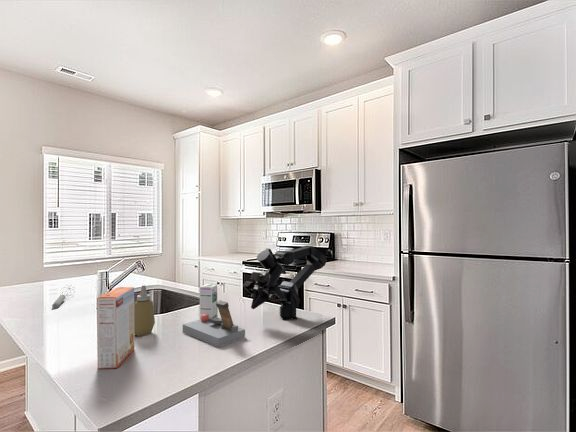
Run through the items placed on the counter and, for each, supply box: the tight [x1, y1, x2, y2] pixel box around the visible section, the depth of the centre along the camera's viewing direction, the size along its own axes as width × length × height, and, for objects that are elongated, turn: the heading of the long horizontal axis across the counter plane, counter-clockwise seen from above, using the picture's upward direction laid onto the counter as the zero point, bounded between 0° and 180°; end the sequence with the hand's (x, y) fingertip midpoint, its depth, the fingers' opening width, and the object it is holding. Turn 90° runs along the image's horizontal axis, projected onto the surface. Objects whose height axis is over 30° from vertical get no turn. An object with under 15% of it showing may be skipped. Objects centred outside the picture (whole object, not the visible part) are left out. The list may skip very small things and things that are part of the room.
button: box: [201, 314, 209, 322], centre depth 131 cm, size 3×3×2 cm
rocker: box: [208, 318, 223, 324], centre depth 127 cm, size 5×4×1 cm
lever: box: [216, 299, 235, 330], centre depth 120 cm, size 2×4×11 cm, turn 49°
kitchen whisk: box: [51, 284, 76, 310], centre depth 172 cm, size 6×34×6 cm, turn 23°
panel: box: [182, 317, 246, 348], centre depth 124 cm, size 12×22×5 cm, turn 49°
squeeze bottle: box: [134, 284, 156, 337], centre depth 125 cm, size 8×8×18 cm
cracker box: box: [96, 286, 135, 370], centre depth 103 cm, size 14×6×21 cm, turn 5°
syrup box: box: [199, 283, 219, 320], centre depth 144 cm, size 6×6×14 cm
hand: (252, 308), depth 130 cm, fingers closed
